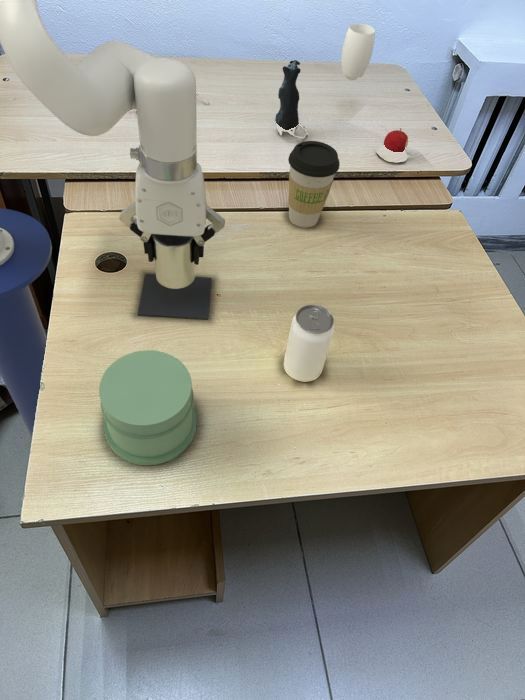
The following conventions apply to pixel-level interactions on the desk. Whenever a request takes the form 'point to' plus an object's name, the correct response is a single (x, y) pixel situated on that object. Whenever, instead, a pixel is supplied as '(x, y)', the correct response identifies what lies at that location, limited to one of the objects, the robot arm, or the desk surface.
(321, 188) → the coffee cup
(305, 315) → the can
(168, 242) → the silver cup
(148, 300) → the mat
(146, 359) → the green short cylinder
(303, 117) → the desk surface
